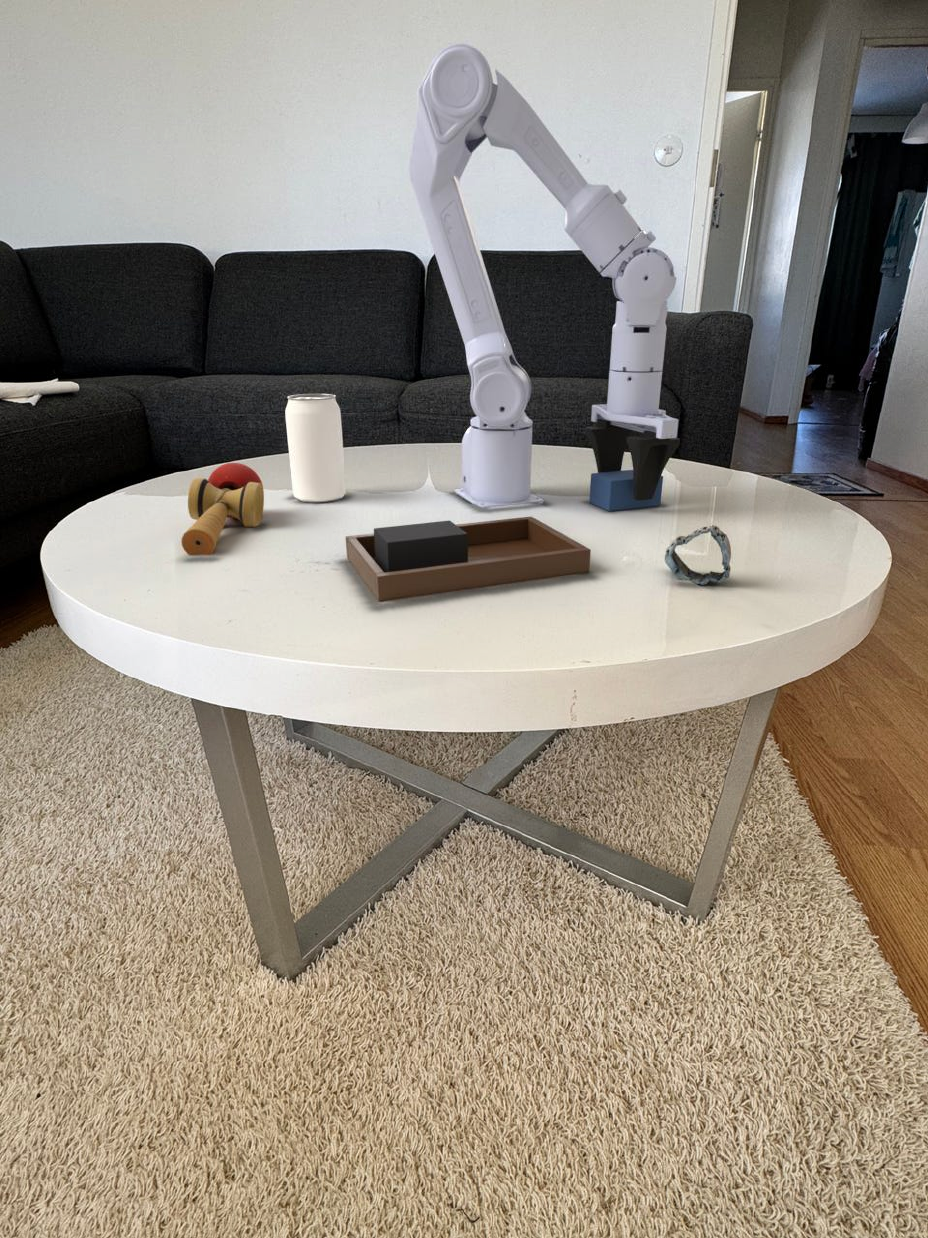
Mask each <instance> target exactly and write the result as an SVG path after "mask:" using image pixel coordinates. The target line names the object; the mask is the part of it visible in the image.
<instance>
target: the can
mask: <svg viewBox="0 0 928 1238" xmlns="http://www.w3.org/2000/svg"><path fill="white" fill-rule="evenodd" d="M336 398H337V395H336V394H331V393H302V394H301V393H299V394H292V395H288V396H287V399H288V400H287V404H286V407H285V410H284V411H285V412H284V415H285V426H286V427H285V428H286V436H287V447H288V457H289V459H288V460H289V467H290V468H289V469H290V477H291V478H290V479H291V487H292V495H293V497H294V498H295V499H296V500H297V501H299V502H303V503H311V504H312V503H314V504H315V503H327V502H328V503H329V502H335V501H339V500H341V499H343V498H344V496H345V495H346V494H347V486H346V485H347V484H346V471H345V470H346V469H345V455H344V440H343V426H342V413H341V408H340V406H339V403H338V402H337V400H336Z"/></svg>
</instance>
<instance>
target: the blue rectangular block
mask: <svg viewBox="0 0 928 1238" xmlns="http://www.w3.org/2000/svg"><path fill="white" fill-rule="evenodd" d="M663 483H664V475H661V477H660V480H659V482H658V485H657V488H656V491H655V493H654V496H653V499H650V500H640V501H637V500H635V499H634V495H633V469H625V470H621V471H613V472H601V473H598V472H592V473H590V483H589V484H590V485H589V500H588V501H589V503H590V504H592V505H594V506H597V507H599V508H601V509H603V510H605V511H608V512H614V511H622V510H632V509H641V508H650V507H660V506H661V503H662V492H663Z"/></svg>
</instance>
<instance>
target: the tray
mask: <svg viewBox="0 0 928 1238" xmlns="http://www.w3.org/2000/svg"><path fill="white" fill-rule="evenodd" d="M456 525H457V526H458V527H459V528H461V529H462V530H463V531H465V532H466V533H467V534H468V562H465V563H457V564H449V565H442V566H434V567H426V568H418V569H410V570H402V571H394V572H386V573H384V571H383V570H382V569H381V568H380V567H379V565H378V564H377V563H376V561H375V543H374V532H373V533H364V534H355V535H347V536H345V549H346V559H347V560H348V562H349V563H350V564H351V566H352V567H353V568H354V570H355V571H356V572H357V574H358V575H359V577H361V579H362V581H363V582H364V583H365V585H366V587H368V589H369V590H370V592H371V593H372V595H373V596H374V597H375V598H376V600H377V601H378V602H380V603H381V602H386V601H395V600H402V599H409V598H415V597H423V596H424V597H425V596H431V595H438V594H443V593H444V594H445V593H452V592H458V591H459V592H460V591H465V590H473V589H474V590H475V589H479V588H480V589H481V588H488V587H495V586H501V585H502V586H503V585H509V584H517V583H524V582H529V581H539V580H544V579H552V578H559V577H566V576H573V575H579V574H588V573H590V567H591V566H590V565H591V564H590V563H591V551H592V550H591V549H590V548H588V547H587V546H585V545H584V544H582V543H580V542H578V541H577V540H575V539H572V538H571V537H569V536H567V535H565V534H564V533H562V532H560V531H558V530H557V529H555V528H553V527H552V526H549V525H548V524H546V523H545V522H542V521H541V520H539V519H537V518H535V517H533V516H522V517H521V516H520V517H514V518H505V519H504V518H503V519H496V520H485V521H477V522H468V523H458V524H456Z"/></svg>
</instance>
